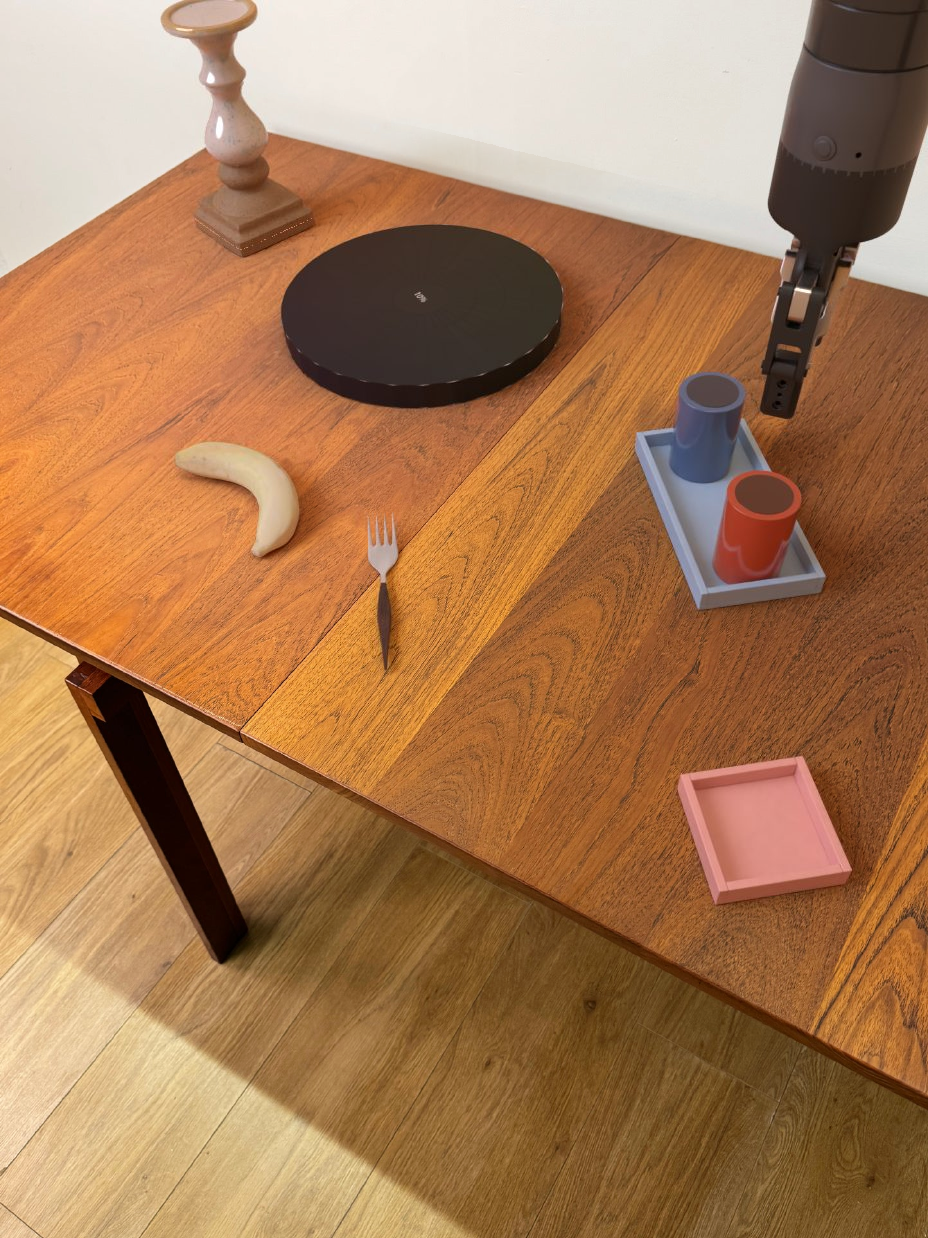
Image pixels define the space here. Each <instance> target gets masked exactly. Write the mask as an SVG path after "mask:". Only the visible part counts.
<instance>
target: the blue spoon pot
mask: <svg viewBox="0 0 928 1238" xmlns="http://www.w3.org/2000/svg"><path fill="white" fill-rule="evenodd" d="M746 391H747V390H746V389H745V386H744V385H743V384H742V382H741V381H739V380H738V379H736V378H735V377H734V376H731V375H729V374H726V373H723V372H717V371H701V372H696V373H693V374H690V375H689V376H687V377H686V378H685V379H684V380H683V381H682V382H681V383H680V385H679V387H678V393H677V398H676V399H677V400H676V407H675V412H674V413H675V414H674V421H673V427H672V428H673V433H672V440H671V447H670V454H669V465H670V468H671V469H672V471H673V472H674V473H675V474H676V475H677V476H679V477H680V478H682V479H684V480H687V481H690V482H694V483H711V482H715V481H718V480H720V479H722V478H724V477H725V476H726V475H727V474H728V473H729V471H730V469H731V465H732V460H733V455H734V450H735V446H736V441H737V436H738V431H739V427H740V422H741V419H742V416H743V412H744V407H745V402H746V398H747V392H746Z"/></svg>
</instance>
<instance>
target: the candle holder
mask: <svg viewBox="0 0 928 1238" xmlns="http://www.w3.org/2000/svg"><path fill="white" fill-rule="evenodd" d="M258 15H259V12H258V6H257V4H256V3H255V2H254V1H253V0H180V1H177V2H176V3H173V4H171V5H170V6H168V7H167V8H165V9H164V11H163V12H162V13H161V15H160V24H161V27H162V29H163V30H164V31H165V32H166V33H167V34H169V35H170V36H173V37H176V38H179V39H185V40H186V39H187V40H189V41H190V43H191V44H192V45H194V46H195V47H196V48H197V50H198V51H199V53H200V55H201V59H202V64H201V65H202V66H201V70H200V71H199V74H198V80H199V82H200V84H201V85H203V86H204V87H205V89H206V91H207V92H209V94H210V96H211V99H212V104H211V111H210V114H209V117H208V119H207V123H206V124H205V125H206V126H205V128H204V129H205V130H204V136H203V137H204V139H203V140H204V145H205V149H206V151H207V152H208V154H209V155H210V156H211V157H212V158H213V159H215V160H216V161H217V162H219V163H218V166H217V169H216V170H217V172H216V173H217V177H218V180H219V181H220V182H221V184H222V185H221V186H220V187H219V188H218V190H216V191H214V192H211V193H208V194H207V195H205V196H203V197H201V198H200V199H199V200H198V205H199V207H198V208H197V209H195V210H194V211H193V212H192V214H193V218H194V217H195V218H196V219H197V220H199V222H201V223H203V225H205V226H206V227H208V228H209V229H211V230H212V231H214V232H215V233H216V234H218V235H219V236H220V237H219V236H218V235H216V234H215V233H213V232H212V231H210V230H209V229H208V228H206V227H205V226H203V225H202V224H200V223H199V222H198V221H196V220H195V218H194V221H195V226H196V227H197V228H198V229H199V230H200V231H202V232H203V233H205V234H206V235H208V236H209V237H210V238H212V239H213V240H215V241H216V242H217V243H219V244H220V245H222V246H223V247H224V248H226V249H227V250H229V251H231V252H232V253H234V254H235V255H237V256H239V257H241V258H244V257H247V256H250V255H252V254H255V253H257V252H260V251H262V250H263V249H266V248H268V247H271V246H272V245H275V244H277V243H279V242H282V241H283V240H286V239H288V238H290V237H293V236H294V235H297V234H299V233H301V232H303V231H305V230H308V229H309V228H311V227H314V226H315V224H316V223H315V217H314V213H313V210H312V209H311V208H310V207H309V206H307V205H306V204H304V201H303V199H302V198H301V197H300V196H299V195H298V194H296V193H295V192H293V191H292V190H290V189H289V188H287V187H286V186H284V185H283V184H281V183H279V182H277V181H276V180H274V179H273V178H270V177H269V175H270V165H269V163H268V161H267V159H265V157H264V156H262V155H263V154H264V153H265V152H266V150H267V148H268V146H269V145H268V144H269V134H268V133H269V132H268V130H267V128H266V126H265V124H264V122H263V121H262V120H261V118H260V117H259V116H258V115H257V113H256V112H255V111H254V110H253V109H252V108H251V106H250V105H249V104H248V103H247V101H246V100H245V98H244V97H243V86H244V80H245V79H246V77H247V71H246V69H245V67H244V66H242V65H241V63H240V62H239V61H238V60H237V57H236V55H235V42H236V40H237V39H238V35H239V32H243V30H246V29H248V28H249V27H251V26H252V25H253V24H254V23H255V22H256V21H257V18H258ZM311 218H312V219H311ZM307 220H308V221H307ZM303 222H304V223H303ZM300 223H302V224H300ZM296 225H297V226H296ZM294 226H295V227H294ZM291 227H293V228H291ZM289 228H290V229H289ZM286 229H288V230H286ZM284 230H286V231H284ZM283 231H284V232H283ZM280 232H282V233H280ZM276 234H277V235H276ZM274 235H275V236H274ZM272 236H273V237H272ZM222 238H223V239H222ZM224 239H225V240H226V241H228V242H229V243H230V244H229V243H228V242H226V241H225V240H224ZM264 239H266V240H264ZM261 241H262V242H261ZM231 244H232V245H234V246H232V245H231ZM252 245H253V246H252ZM236 247H237V248H239V249H237V248H236ZM246 247H248V248H246ZM244 248H245V249H244ZM240 249H242V250H240Z"/></svg>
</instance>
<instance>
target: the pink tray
mask: <svg viewBox="0 0 928 1238" xmlns="http://www.w3.org/2000/svg"><path fill="white" fill-rule="evenodd" d="M676 788H677V789H676V790H677V792H678V793H677V794H678V795H679V799H680V802H681V805H682V807H683V811H684V814H685V818H686V820H687V823H688V827H689V829H690V833H691V836H692V839H693V842H694V845H695V848H696V851H697V854H698V857H699V859H700V863H701V866H702V869H703V872H704V875H705V878H706V881H707V884H708V887H709V890H710V894H711V897H712V900H713V903H714V905H716V906H717V905H722V904H729V903H730V904H731V903H736V902H742V901H748V900H754V899H760V898H766V897H773V896H779V895H785V894H792V893H797V892H802V891H804V892H805V891H809V890H816V889H817V890H818V889H822V888H828V887H833V886H834V887H835V886H841V885H845V884H846V883H847V881H848V879H849V878H850V875H851V874H852V872H853V869H852V866H851V864H850V862H849V860H848V857H847V854H846V853H845V851H844V848H843V846H842V844H841V841H840V839H839V837H838V834H837V832H836V829H835V827H834V825H833V823H832V820H831V818H830V816H829V813H828V811H827V809H826V807H825V804H824V801H823V800H822V797H821V795H820V791H819V790H818V788H817V785H816V783H815V781H814V779H813V776H812V774H811V771H810V769H809V767H808V765H807V762H806V759H805V757H804V756H803V755H800V756H792V757H786V758H780V759H779V758H778V759H773V760H767V761H761V762H753V763H747V764H740V765H735V766H728V767H722V768H714V769H708V770H703V771H695V772H694V771H693V772H689V773H681V774H680V775H679V779H678V785H677V787H676Z"/></svg>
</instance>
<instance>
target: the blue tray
mask: <svg viewBox="0 0 928 1238" xmlns="http://www.w3.org/2000/svg"><path fill="white" fill-rule="evenodd" d="M672 433H673V427H668V428H661V429H652V430H646V431H637V432H636V433H635V444H634V451H635V453H636V456H637V458H638V462H639V463H640V466H641V469H642V472H643V474H644V475H645V479H646V481H647V484H648V487H649V489H650V491H651V494H652V496H653V499H654V502H655V504H656V507H657V509H658V511H659V512H658V513H659V514H660V517H661V519H662V522H663V524H664V527H665V529H666V533H667V534H668V537H669V539H670V542H671V544H672V548H673V550H674V552H675V556H676V557H677V560H678V563H679V565H680V568H681V570H682V572H683V575H684V578H685V580H686V583H687V586H688V588H689V590H690V593H691V595H692V598H693V601H694V602H695V605H696V608H697V611H703V610H704V611H705V610H711V609H717V608H724V607H731V606H737V605H738V606H739V605H745V604H754V603H759V602H760V603H761V602H766V601H767V602H768V601H773V600H781V599H787V598H788V599H789V598H794V597H802V596H809V595H816V594H821V593H822V590H823V588H824V587H823V586H824V583H825V580H826V579H827V576H826V574H825V572H824V570H823V568H822V566H821V564H820V562H819V560H818V558H817V556H816V554H815V553H814V550H813V549H812V547H811V544H810V543H809V541H808V539H807V537H806V534H805V533H804V531H803V529H802V528H801V526H800V523H799V521H798V520H797V519H796V523H795V526H794V530H793V533H792V536H791V540H790V543H789V547H788V550H787V553H786V557H785V560H784V564H783V567H782V571H781V574H780V576H779V578H774V579H767V580H760V581H753V582H746V583H739V584H732V585H728V584H726V583H725V582H723V581H722V580H721V579H720V578H719V577H718V576H717V575H716V573H715V572H714V570H713V567H712V558H713V553H714V548H715V544H716V539H717V534H718V529H719V525H720V520H721V515H722V510H723V506H724V501H725V496H726V492H727V487H728V485H729V483H730V482H731V481H732V480H733V478H735V477H736V476H738V475H740V474H742V473H745V472H748V471H755V470H763V471H771V472H772V469H771V467H770V466H769V464H768V462H767V460H766V458H765V456H764V455H763V452H762V451H761V449H760V446H759V444H758V443H757V441H756V438H755V437H754V435H753V433H752V431H751V429H750V427H749V425H748V423H747V422H746V419H745V418H742V417H741V422H740V427H739V431H738V436H737V441H736V446H735V450H734V455H733V460H732V465H731V469H730V471H729V473H728V474H727V475H726V476H725V477H724V478H722V479H720V480H718V481H715V482H711V483H694V482H690V481H687V480H684V479H682V478H680V477H679V476H677V475H676V474H675V473H674V472H673V471H672V469H671V468H670V465H669V454H670V447H671V440H672Z"/></svg>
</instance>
